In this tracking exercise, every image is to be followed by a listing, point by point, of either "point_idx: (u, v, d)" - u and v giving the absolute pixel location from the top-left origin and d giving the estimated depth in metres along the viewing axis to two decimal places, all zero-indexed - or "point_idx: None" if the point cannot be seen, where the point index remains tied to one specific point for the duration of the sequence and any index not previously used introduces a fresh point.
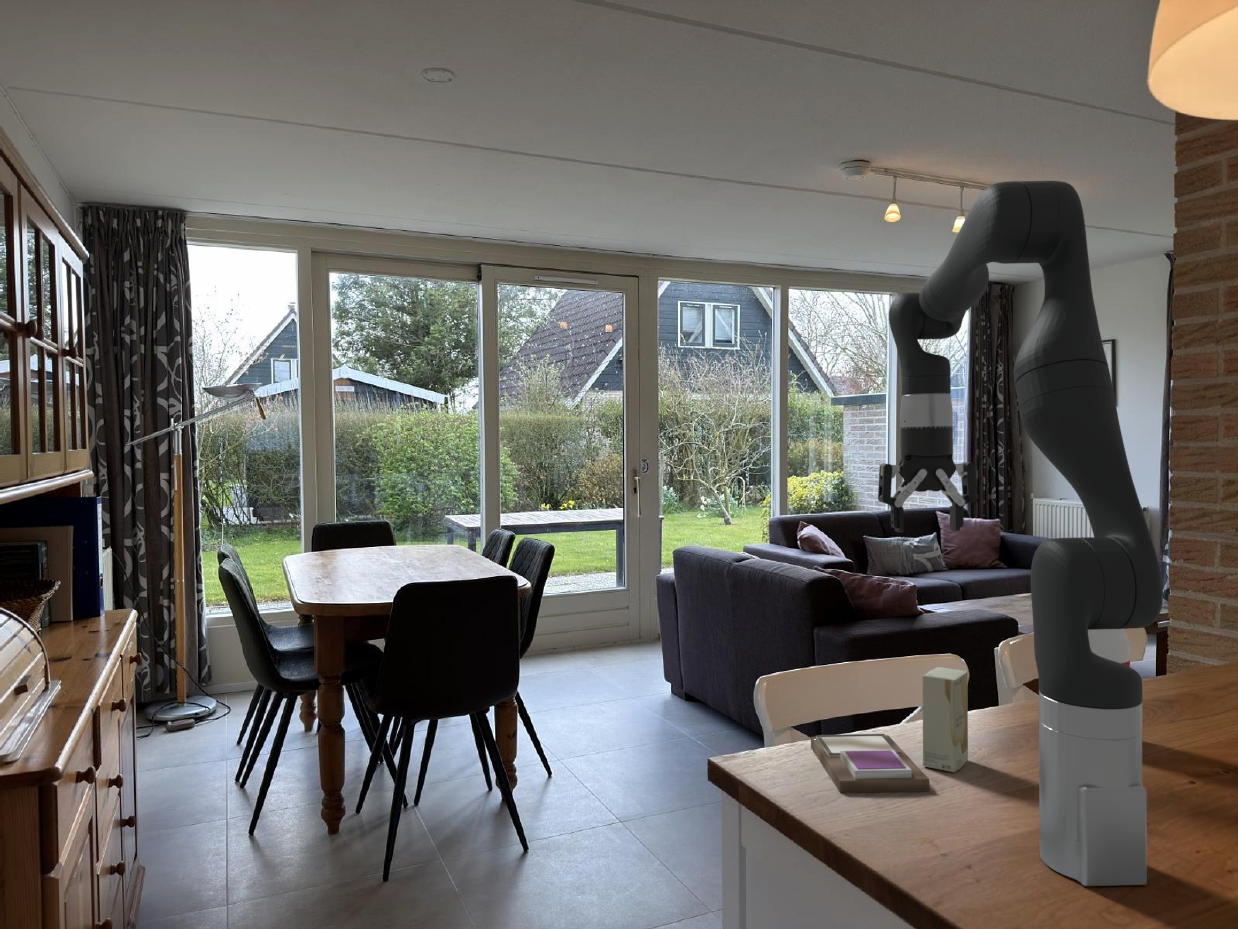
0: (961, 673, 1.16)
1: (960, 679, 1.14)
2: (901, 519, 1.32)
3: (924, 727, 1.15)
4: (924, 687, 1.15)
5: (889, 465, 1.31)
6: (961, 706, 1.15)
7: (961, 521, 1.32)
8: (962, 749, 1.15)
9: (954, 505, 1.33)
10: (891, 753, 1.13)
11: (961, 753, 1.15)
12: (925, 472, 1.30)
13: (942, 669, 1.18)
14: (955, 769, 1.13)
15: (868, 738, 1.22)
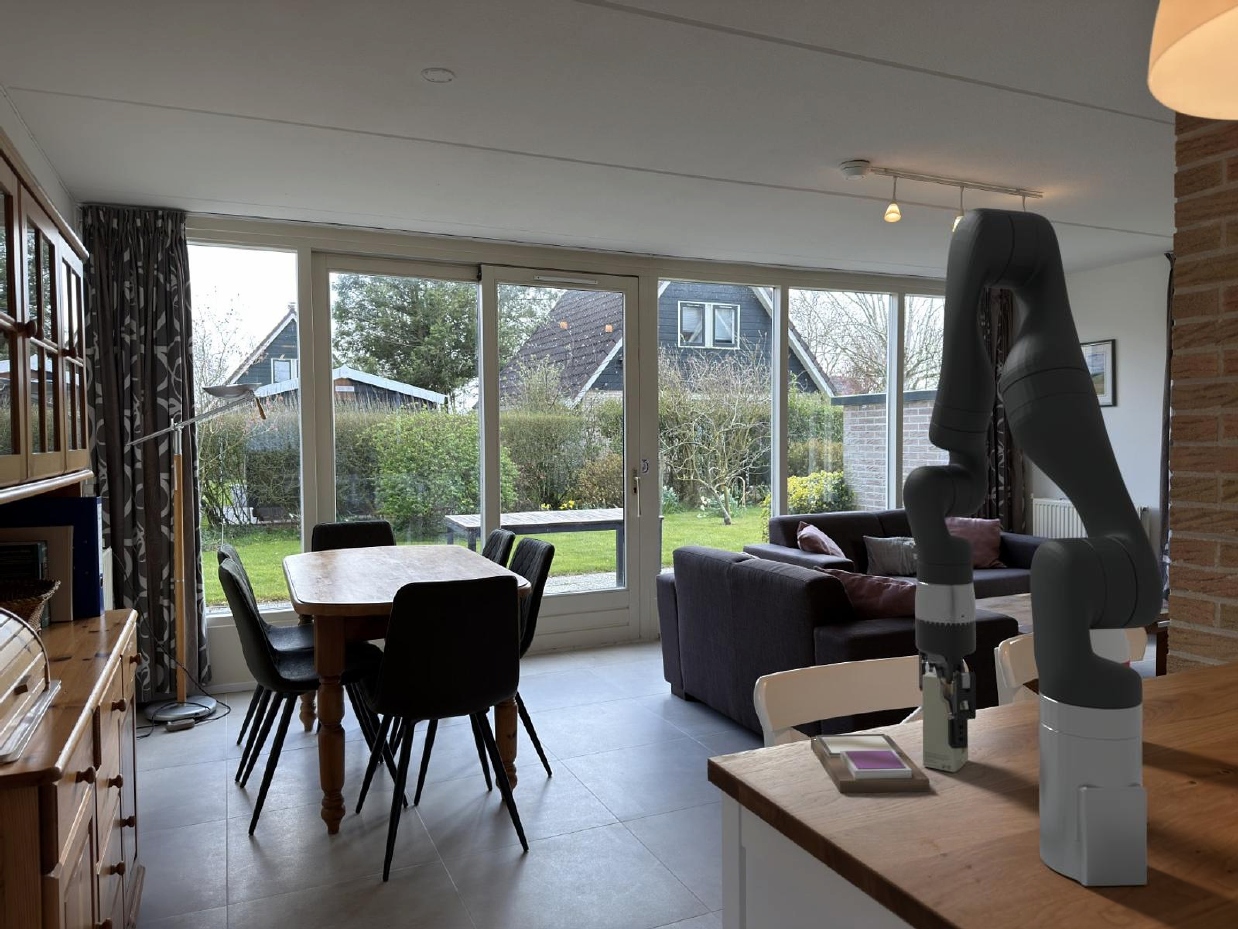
0: None
1: None
2: None
3: (924, 727, 1.15)
4: (924, 687, 1.15)
5: None
6: None
7: None
8: (962, 749, 1.15)
9: None
10: (891, 753, 1.13)
11: (961, 753, 1.15)
12: None
13: None
14: (955, 769, 1.13)
15: (868, 738, 1.22)
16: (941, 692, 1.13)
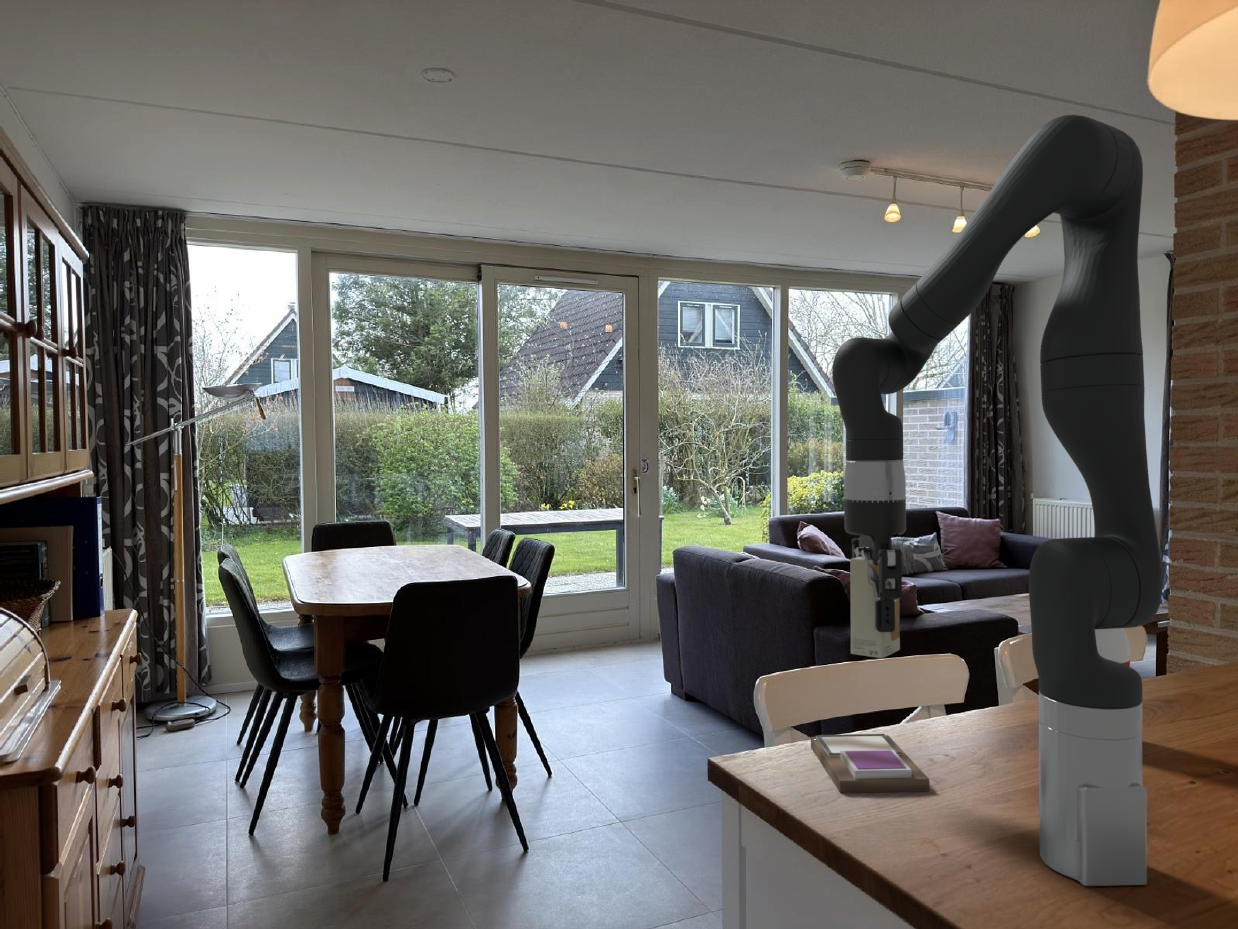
0: None
1: None
2: None
3: (852, 613, 1.10)
4: (852, 571, 1.10)
5: None
6: None
7: None
8: (892, 636, 1.10)
9: None
10: (891, 753, 1.13)
11: (891, 640, 1.09)
12: None
13: None
14: (883, 655, 1.08)
15: (868, 738, 1.22)
16: (868, 574, 1.08)
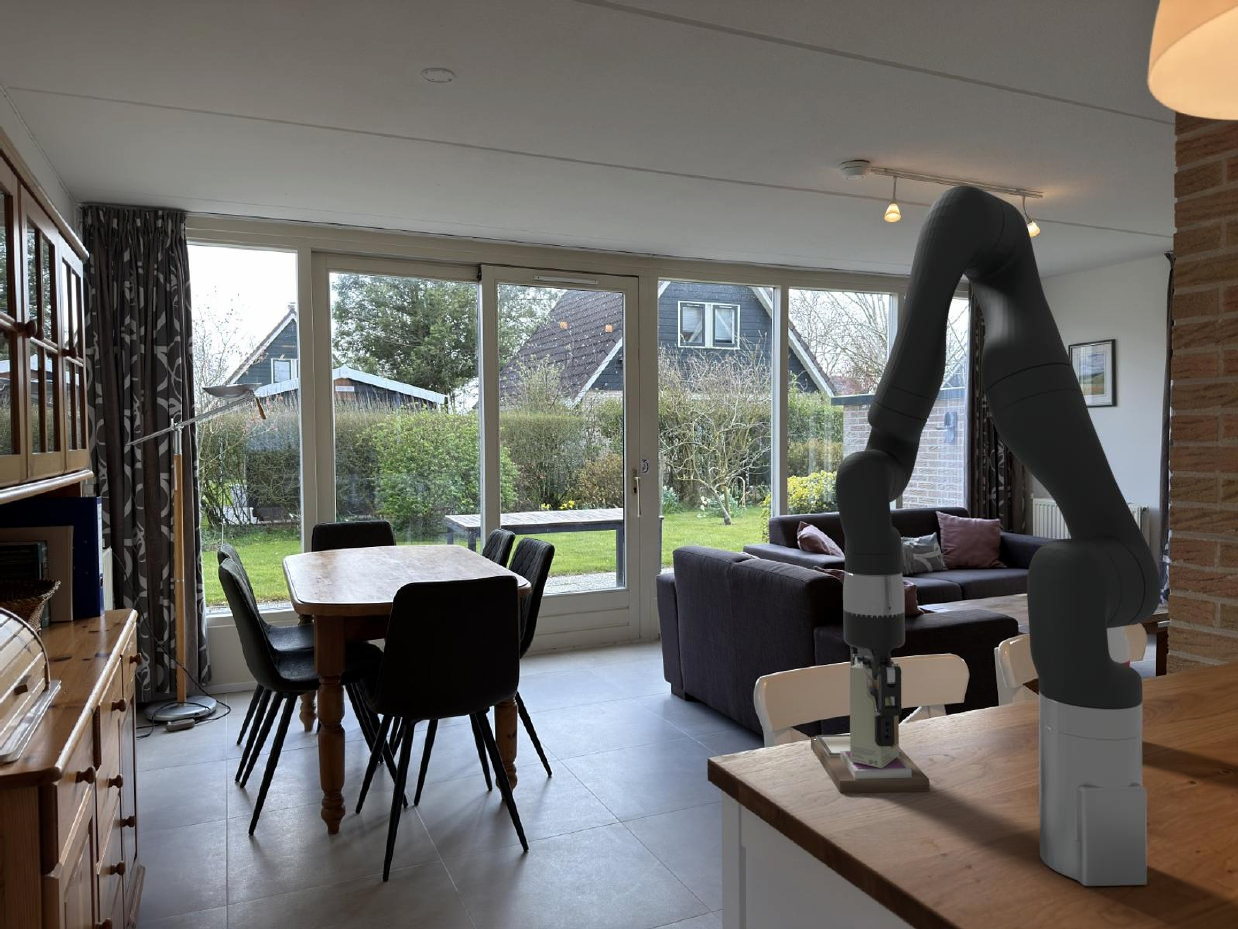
0: None
1: None
2: None
3: (851, 721, 1.10)
4: (851, 679, 1.10)
5: (899, 668, 1.05)
6: None
7: None
8: None
9: None
10: None
11: (890, 748, 1.10)
12: None
13: None
14: (882, 764, 1.08)
15: None
16: (868, 687, 1.08)
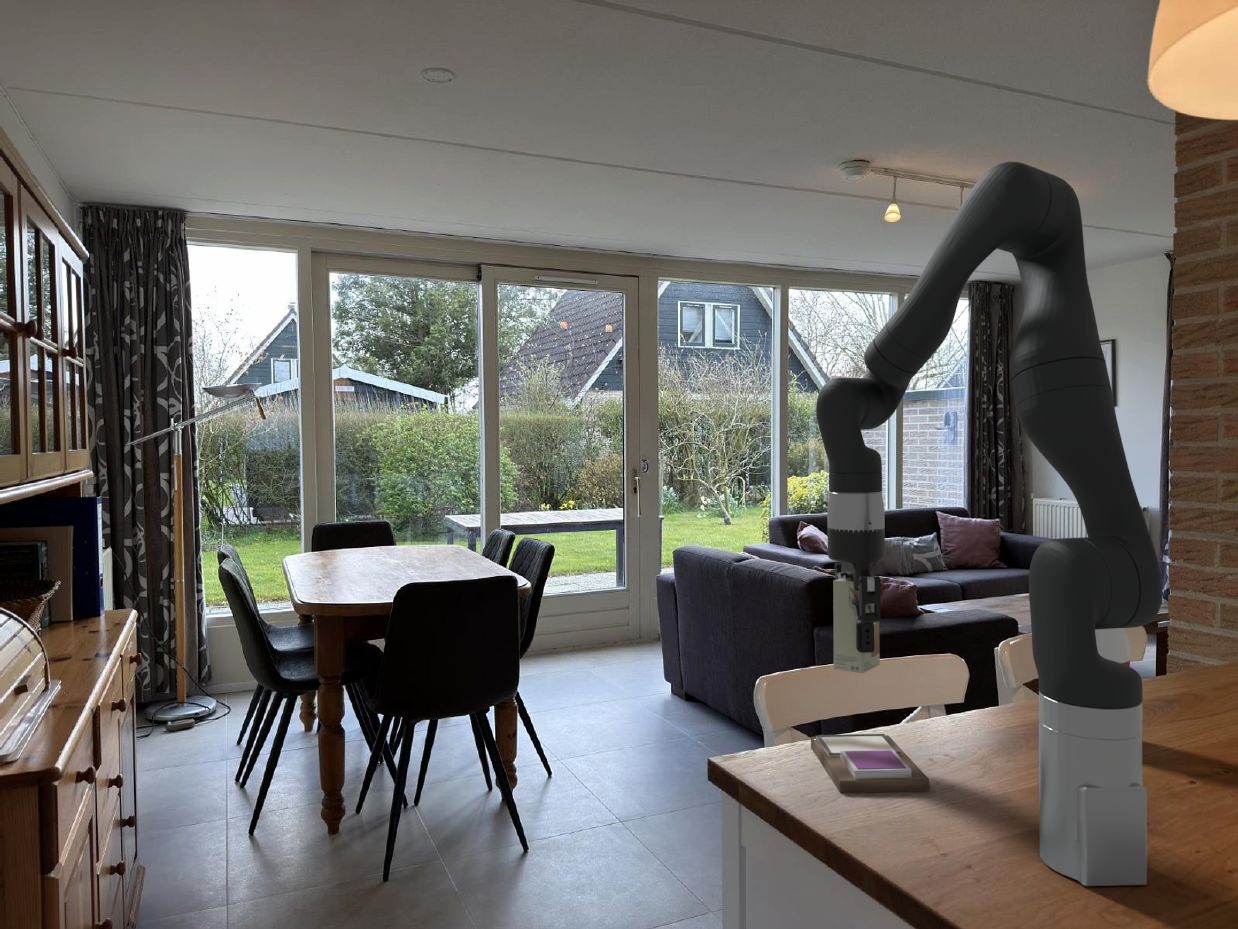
0: None
1: None
2: None
3: (835, 631, 1.18)
4: (834, 591, 1.18)
5: None
6: None
7: None
8: (872, 652, 1.18)
9: None
10: (891, 753, 1.13)
11: (871, 656, 1.17)
12: None
13: None
14: (863, 670, 1.16)
15: (868, 738, 1.22)
16: (850, 598, 1.16)
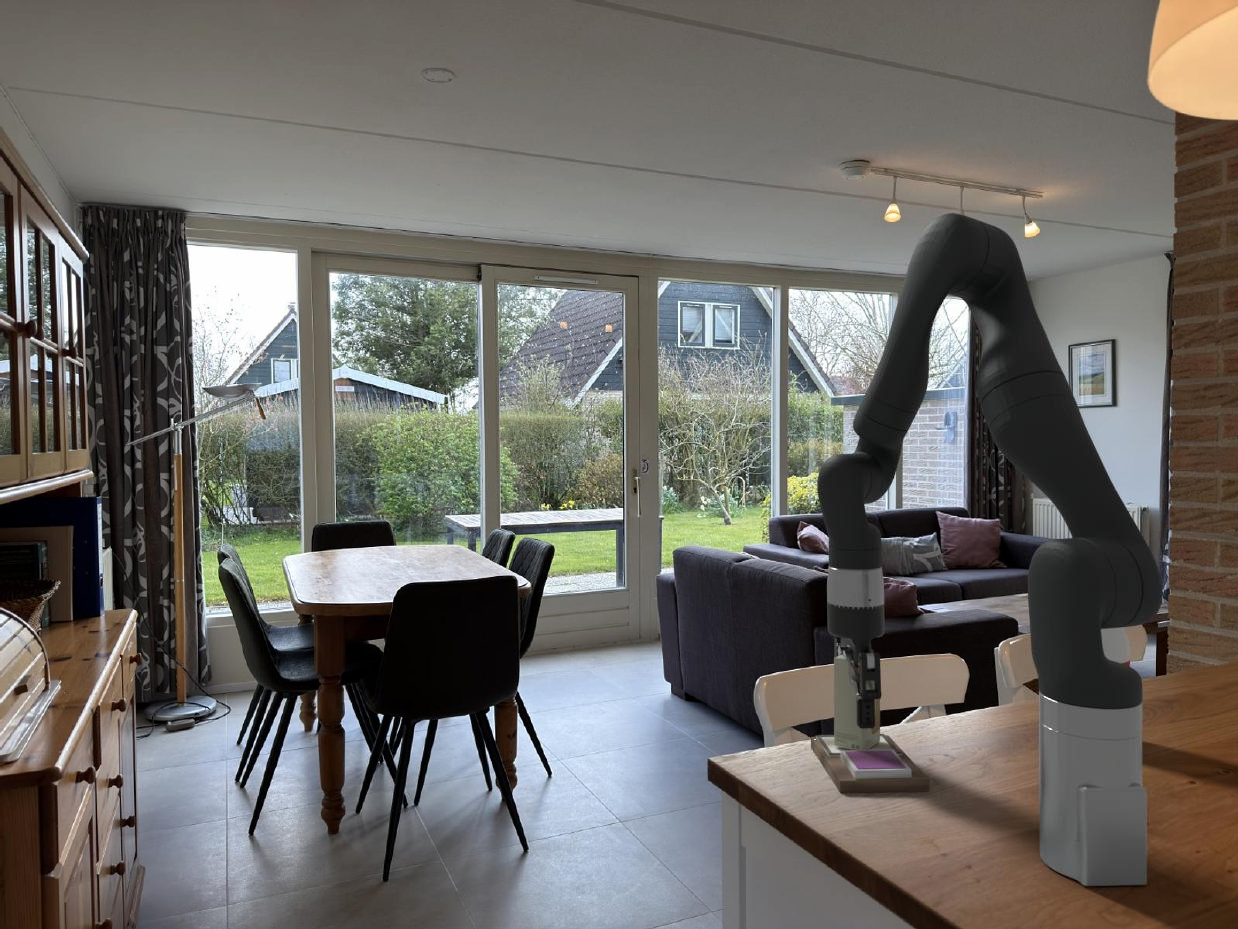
0: None
1: None
2: None
3: (835, 708, 1.18)
4: (835, 669, 1.18)
5: (878, 654, 1.13)
6: None
7: None
8: (872, 729, 1.18)
9: None
10: (891, 753, 1.13)
11: (871, 734, 1.18)
12: None
13: None
14: (864, 749, 1.16)
15: None
16: (850, 674, 1.16)
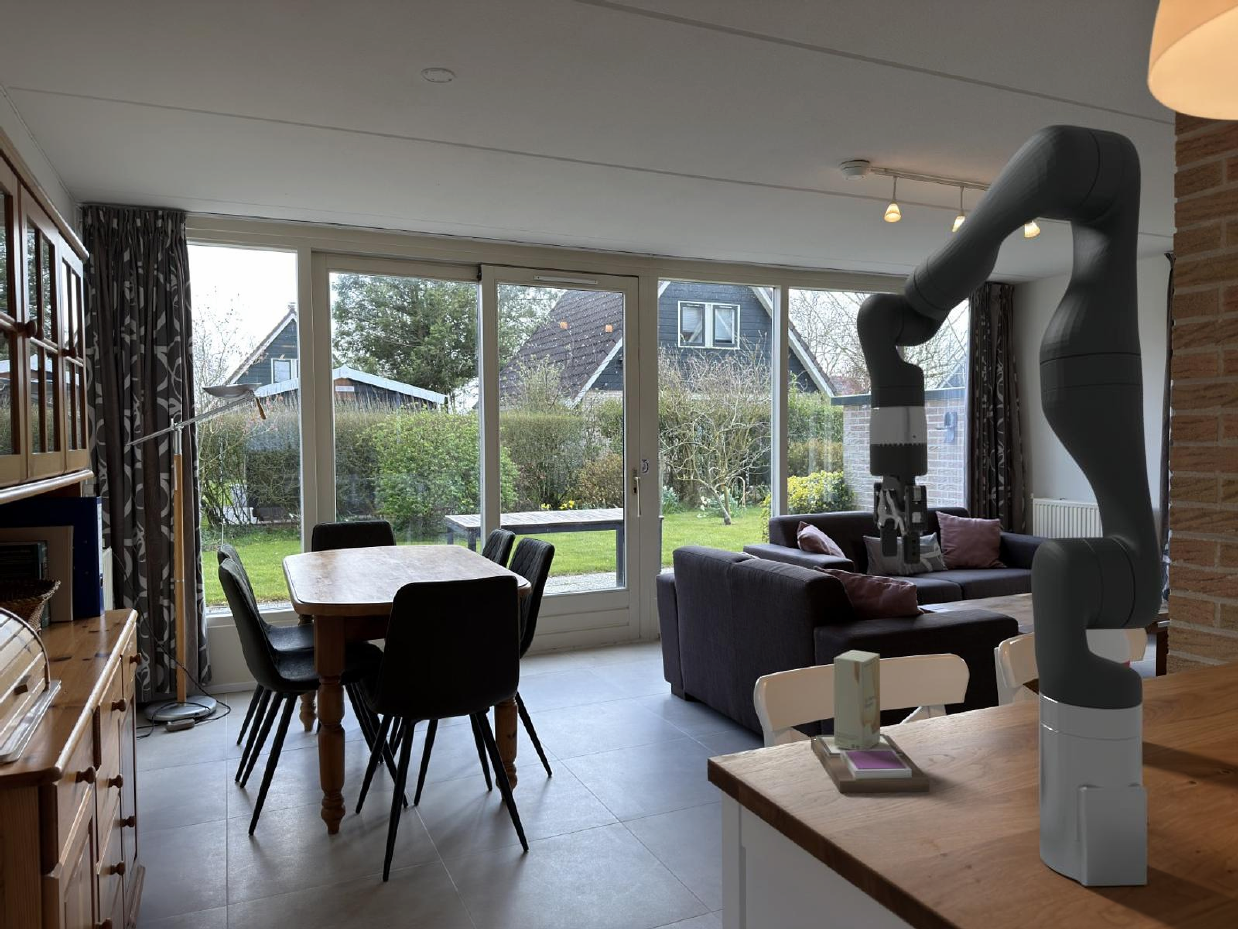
0: (872, 656, 1.19)
1: (870, 661, 1.17)
2: None
3: (835, 708, 1.18)
4: (835, 669, 1.18)
5: None
6: (871, 687, 1.18)
7: None
8: (872, 729, 1.18)
9: (889, 528, 1.23)
10: (891, 753, 1.13)
11: (871, 734, 1.18)
12: None
13: (855, 652, 1.21)
14: (864, 749, 1.16)
15: None
16: (894, 511, 1.16)
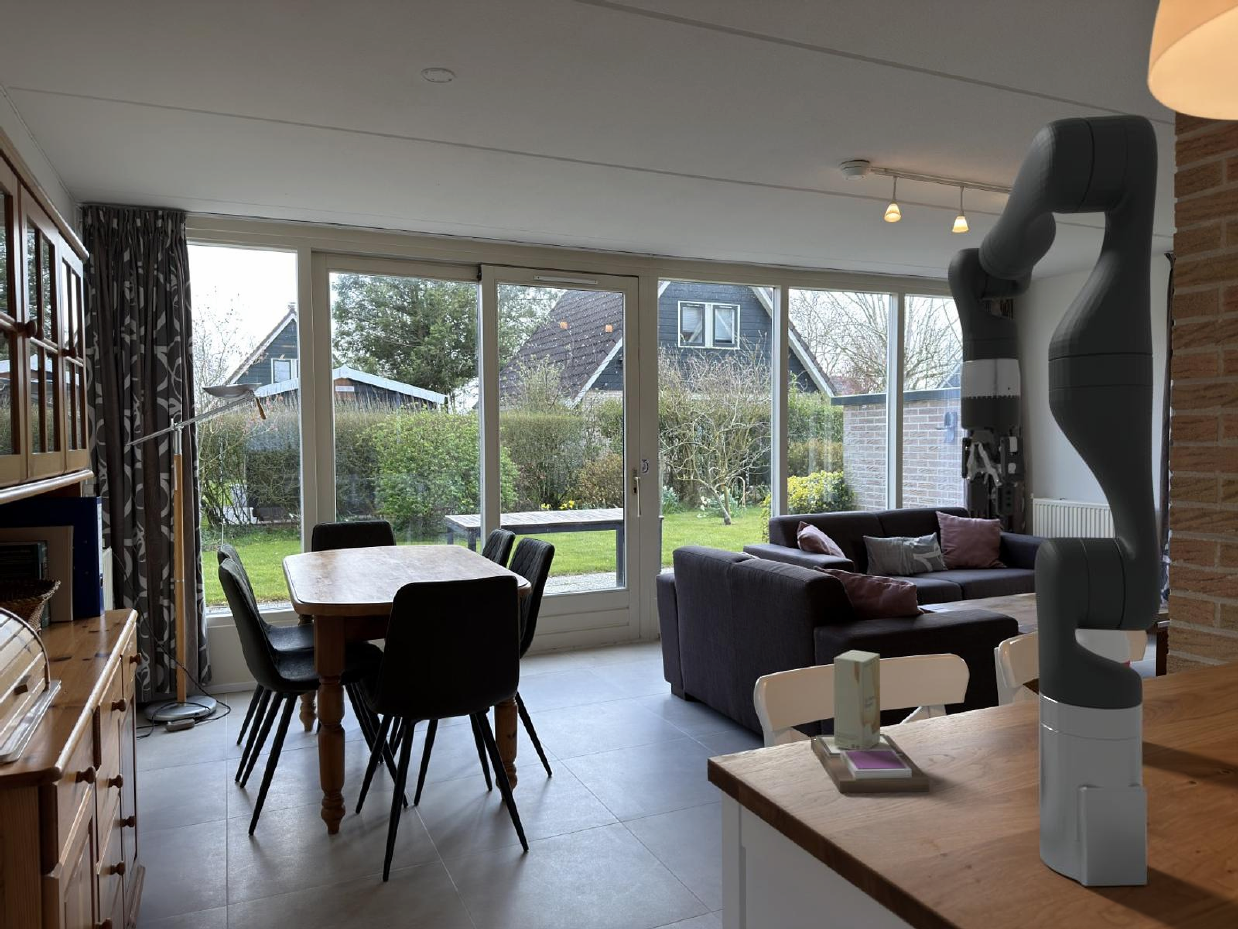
0: (872, 656, 1.19)
1: (870, 661, 1.17)
2: None
3: (835, 708, 1.18)
4: (835, 669, 1.18)
5: None
6: (871, 687, 1.18)
7: None
8: (872, 729, 1.18)
9: (979, 483, 1.24)
10: (891, 753, 1.13)
11: (871, 734, 1.18)
12: None
13: (855, 652, 1.21)
14: (864, 749, 1.16)
15: None
16: (988, 463, 1.16)
